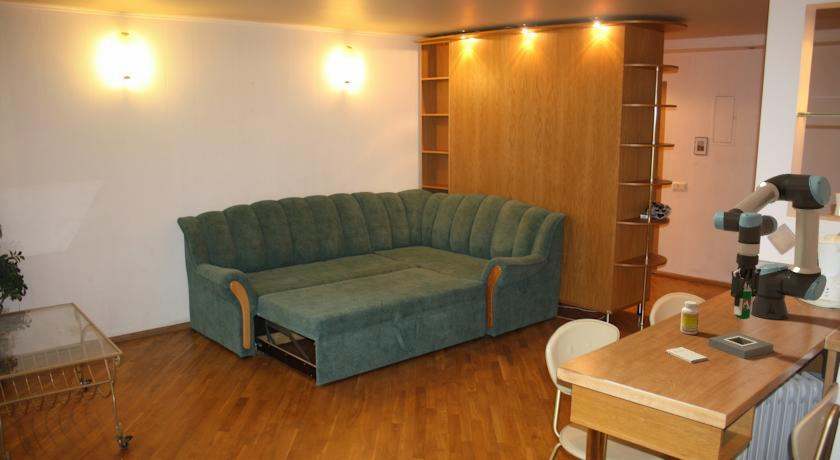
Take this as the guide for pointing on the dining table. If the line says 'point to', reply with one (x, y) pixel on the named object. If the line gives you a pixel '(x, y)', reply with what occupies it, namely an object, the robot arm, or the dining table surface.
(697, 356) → the external hard drive
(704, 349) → the dining table surface
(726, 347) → the socket board
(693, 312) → the supplement bottle
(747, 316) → the soda can
